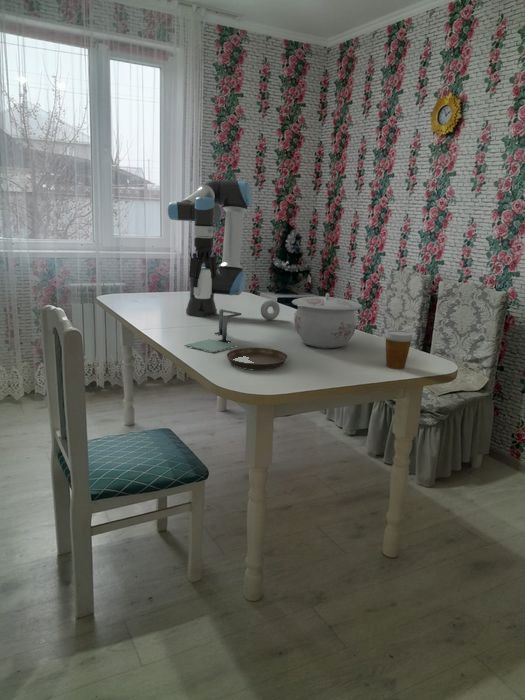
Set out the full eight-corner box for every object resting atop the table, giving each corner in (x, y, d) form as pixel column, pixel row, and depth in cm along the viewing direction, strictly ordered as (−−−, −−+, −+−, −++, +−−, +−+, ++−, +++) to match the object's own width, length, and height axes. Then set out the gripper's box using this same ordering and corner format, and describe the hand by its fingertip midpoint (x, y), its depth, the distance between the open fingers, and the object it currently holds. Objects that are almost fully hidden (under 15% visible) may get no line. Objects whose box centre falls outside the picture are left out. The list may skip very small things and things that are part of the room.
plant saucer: (239, 375, 168) (239, 364, 168) (217, 358, 187) (218, 349, 186) (297, 370, 177) (298, 360, 176) (271, 354, 195) (272, 346, 194)
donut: (277, 319, 262) (278, 298, 260) (280, 320, 259) (281, 299, 257) (258, 319, 258) (259, 299, 255) (262, 321, 255) (263, 300, 252)
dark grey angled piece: (198, 338, 214) (198, 312, 212) (220, 333, 225) (220, 308, 223) (225, 343, 207) (225, 317, 204) (246, 338, 218) (247, 313, 215)
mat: (184, 346, 200) (184, 344, 199) (209, 340, 211) (209, 339, 211) (213, 353, 192) (213, 351, 192) (237, 346, 203) (237, 345, 203)
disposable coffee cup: (377, 362, 190) (381, 329, 187) (404, 363, 191) (407, 330, 188) (386, 370, 181) (389, 335, 178) (413, 370, 182) (417, 336, 179)
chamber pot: (313, 355, 195) (317, 299, 190) (276, 339, 219) (279, 288, 214) (374, 350, 208) (379, 297, 203) (333, 335, 232) (337, 287, 227)
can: (205, 299, 217) (206, 269, 214) (191, 298, 219) (192, 268, 216) (213, 297, 223) (213, 268, 220) (199, 296, 225) (199, 267, 222)
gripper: (194, 237, 205) (193, 297, 211) (226, 237, 220) (224, 293, 226) (179, 236, 209) (179, 295, 215) (212, 236, 225) (211, 291, 230)
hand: (202, 294), depth 220 cm, fingers closed on can, 6 cm apart
